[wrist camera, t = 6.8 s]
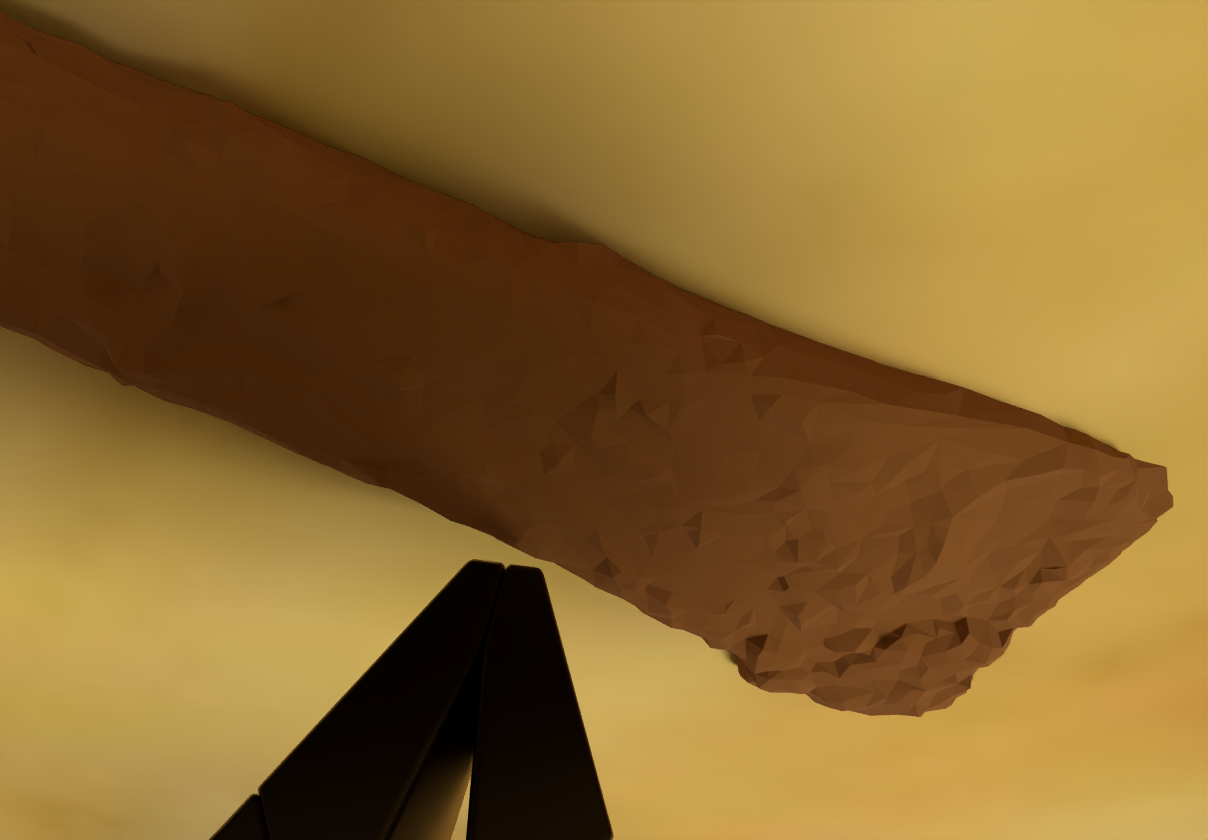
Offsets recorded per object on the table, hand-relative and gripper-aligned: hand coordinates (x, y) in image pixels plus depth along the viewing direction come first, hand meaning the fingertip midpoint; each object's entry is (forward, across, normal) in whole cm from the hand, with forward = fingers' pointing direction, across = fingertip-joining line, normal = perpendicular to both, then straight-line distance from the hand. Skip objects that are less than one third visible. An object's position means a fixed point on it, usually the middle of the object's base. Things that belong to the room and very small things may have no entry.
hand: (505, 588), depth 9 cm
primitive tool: (+2, +2, -3) cm, 4 cm away
